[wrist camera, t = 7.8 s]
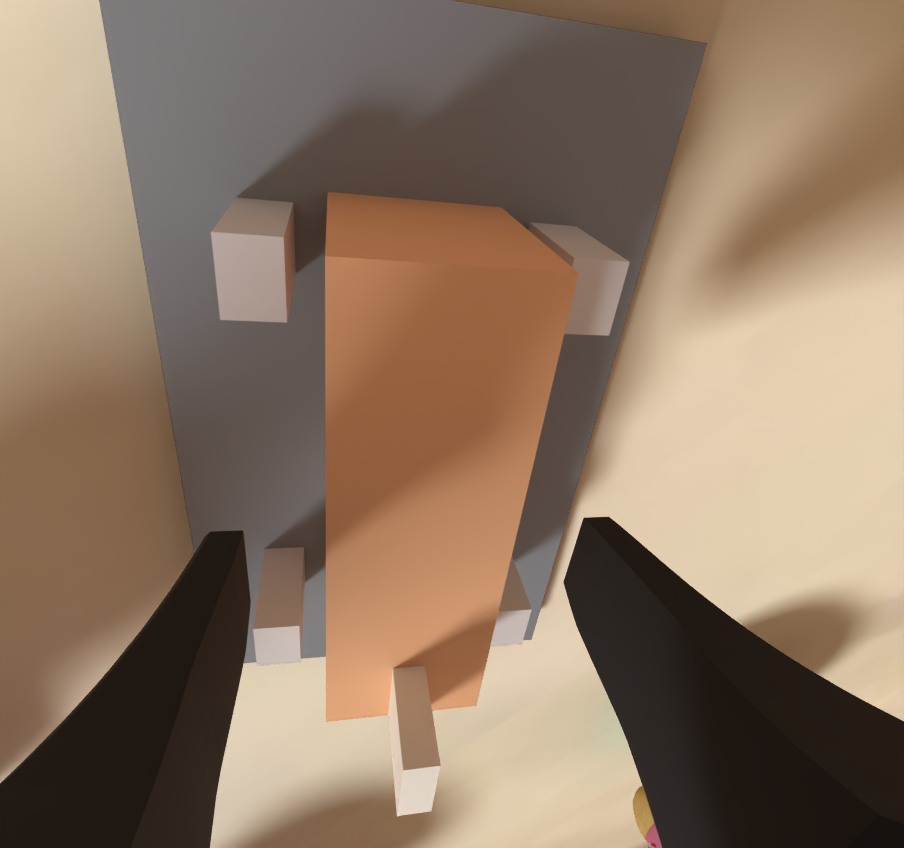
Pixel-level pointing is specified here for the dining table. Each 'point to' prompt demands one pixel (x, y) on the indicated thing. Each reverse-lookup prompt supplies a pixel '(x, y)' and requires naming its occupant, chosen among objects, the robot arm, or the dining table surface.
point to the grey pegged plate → (374, 174)
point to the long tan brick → (427, 452)
